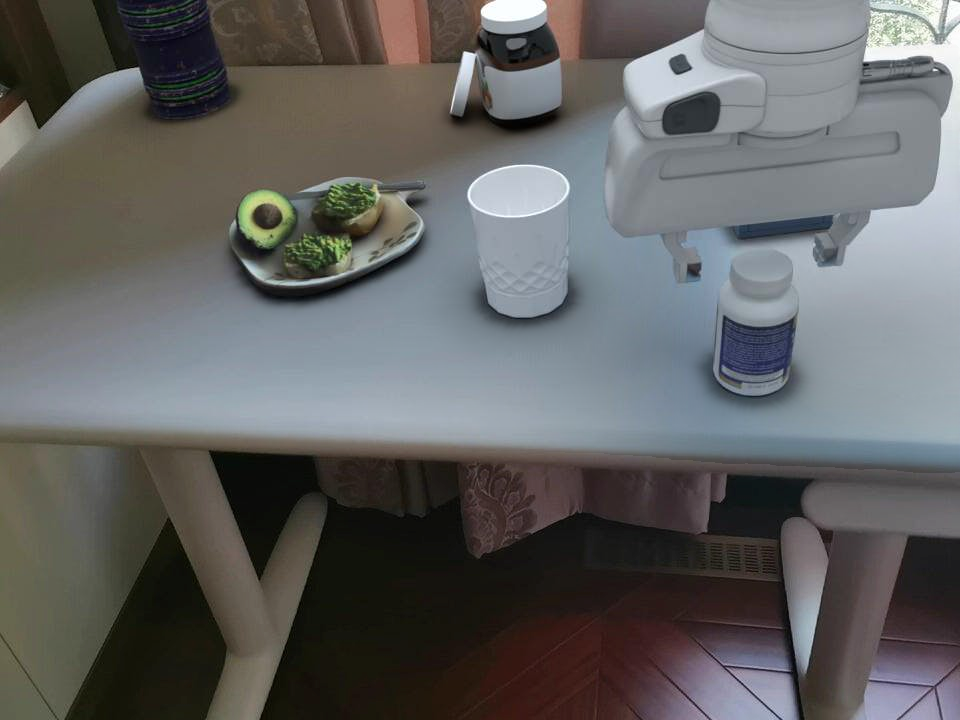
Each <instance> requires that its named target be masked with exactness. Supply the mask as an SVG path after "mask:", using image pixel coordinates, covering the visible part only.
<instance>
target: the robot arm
mask: <svg viewBox="0 0 960 720" xmlns="http://www.w3.org/2000/svg"><path fill="white" fill-rule="evenodd" d="M951 1H953V2H956V3H959V4H960V0H951ZM871 12H872V11H871V4H870V0H709V2H708V4H707V7H706V11H705V14H704V15H705V16H704V27H703V29H701V30H699V31H697V32H695V33H693V34H691V35H689V36H687V37H685V38H682V39H680V40H679V41H676V42H674V43H672V44H670V45H667V46H664V47H662V48H660V49H657V50H655V51H653V52H651V53H649V54H646V55H644V56H641V57H639V58H636V59H634V60H633V61H630V62H629V63H628V64H626V66H625V67H624V69H623V73H622V87H623V95H624V99H625V103H626V106H624V107H623V108H622V109H621V110H620V111H619V112H618V113H617V115H616V117H615V118H614V119H613V123H612V125H611V128H610V131H609V135H608V140H607V146H606V152H605V161H604V168H603V169H604V170H603V185H602V186H603V187H602V192H603V193H602V199H603V207H604V211H605V215H606V218H607V221H608V223H609V226H610V227H611V228H612V230H614V231H615V232H616V233H617V234H618V235H619V236H621V237H622V238H626V239H627V238H628V239H629V238H638V237H647V236H654V235H660V237H661V240H662V242H663V245H664V247H665V248H666V250H667V251H668V253H669V254H670V255H671V257H672V270H673V276H674V278H675V281H676V283H677V284H678V285H679V284H689V283H696V282H700V281H701V280H702V274H701V273H700V272H701V271H702V265H703V261H702V259H701V256H699V255H698V254H699V252H698V250H697V248H696V246H693V247H684V246H683V245H682V244H685V243H686V242H687V234H688V232H692V231H701V230H708V229H718V228H719V229H720V228H726V227H727V228H728V227H732V226H737V225H746V224H755V223H764V222H773V221H782V220H791V219H800V218H809V217H818V216H827V215H833V216H835V215H838V216H837V217H836V219H834V222H832V226H831V227H830V228H828V230H827V231H825V232H819V233H814V240H813V243H814V244H815V245H814V246H813V247H812V258H813V261H814V262H816V263H817V264H816V265H817V267H818V268H829V267H839V266H840V267H841V266H843V264H844V261H845V255H846V249H847V246H850V244H851V243H852V242H853V241H854V240H855V239H856V238H857V237H858V235H859V234H860V233H861V232H862V231H863V230H864V229H865V227H866V226H868V224H869V222H870V218H871V213H872V211H880V210H890V209H897V208H898V209H899V208H907V207H915V206H918V205H920V204H921V203H922V202H923V201H924V200H925V199H926V198H927V197H928V196H929V195H931V193H932V192H933V191H934V189H935V186H936V182H937V176H938V170H939V162H940V155H941V143H942V141H941V140H942V118H943V116H944V115H945V113H946V112H947V110H948V107H949V103H950V100H951V96H952V91H953V87H954V78H953V75H952V72H951V70H950V69H949V68H948V66H947V65H945V64H944V63H942V62H940V61H936V60H935V59H934V58H933V56H931V55H914V56H909V57H907V58H903V59H879V60H878V59H876V60H867V61H865V55H866V50H867V49H866V48H867V44H868V37H869V32H870V25H871V16H872V15H871V14H872V13H871Z"/></svg>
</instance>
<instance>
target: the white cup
mask: <svg viewBox="0 0 960 720" xmlns="http://www.w3.org/2000/svg"><path fill="white" fill-rule="evenodd" d="M570 186H571V185H570V182H569V180H568V179H567V177H566V176H565V175H564V174H562V173H561V172H559V171H557V170H555V169H554V168H550V167H547V166H543V165H539V164H538V165H537V164H513V165H507V166H506V165H505V166H502V167H499V168H495V169H493V170H490V171H487V172H486V173H484V174H481V175H480V176H479V177H477V178H476V179H475V180H474V181H472V183H471V184H470V185H469V187H468V189H467V195H466V196H467V202H468V209H469V215H470V219H471V225H472V231H473V237H474V243H475V248H476V251H477V259H478V263H479V267H480V272H481V273H480V274H481V275H482V278H483V282H484V286H485V293H486V298H487V303H488V305H489V306H490V307H492V308H493V309H494V310H495V311H496V312H497V313H499V314H502V315H505V316H508V317H511V318H535V317H538V316H542V315H546V314H549V313H551V312H553V311H554V310H555V309H557V308H558V307H560V306H561V305H562V304H563V303H564V302H565V301H564V300H565V299H566V296H567V294H568V292H569V291H568V289H569V288H568V283H569V281H568V269H569V260H570V228H571V227H570V211H571V210H570V209H571V207H570V206H571V205H570V204H571V202H570V201H571V199H570V198H571V187H570Z"/></svg>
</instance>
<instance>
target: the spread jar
mask: <svg viewBox="0 0 960 720" xmlns="http://www.w3.org/2000/svg"><path fill="white" fill-rule="evenodd" d="M480 20H481V28H480V29H479V31H478V32H477V34H476V38H475V42H474V43H475V44H474V52H475V53H472V52H469V51H463V52H462V56H461V60H460V63H459V68H458V73H457V77H456V82H455V87H454V92H453V97H452V101H451V107H450V115H453V116H457V117H461V118H462V117H463V116H464V113H465V109H466V105H467V101H468V98H469V97H468V96H469V92H470V89H471V83H472V79H473V74H474V69H475V64H476V72H477V74H476V75H477V82H478V88H479V93H480V97H481V102H482V104H483V107H484V110H485V112H486V114H487V116H488V117H489V119H490V120H491V121H492V122H493V123H495V124H497V125H499V126H502V127H506V128H526V127H527V128H528V127H531V126H532V127H533V126H535V125H538V124H541V123H543V122H545V121H546V120H548V119H550V118H551V117H552V116H554V115H555V114H556V113H557V112H558V111H559V109H560V107H561V105H562V102H563V101H562V100H563V83H562V64H561V63H562V62H561V53H560V48H559V45H558V42H557V40H556V37H555V33H554V32H553V30H552V29H551V26H550V25H549V23H548V22H547V21H548V7H547V4H546V2H545V1H544V0H492V1H490V2H489V3H487V4H485V5H484V6H482V8H481V9H480ZM475 62H476V63H475Z"/></svg>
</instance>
